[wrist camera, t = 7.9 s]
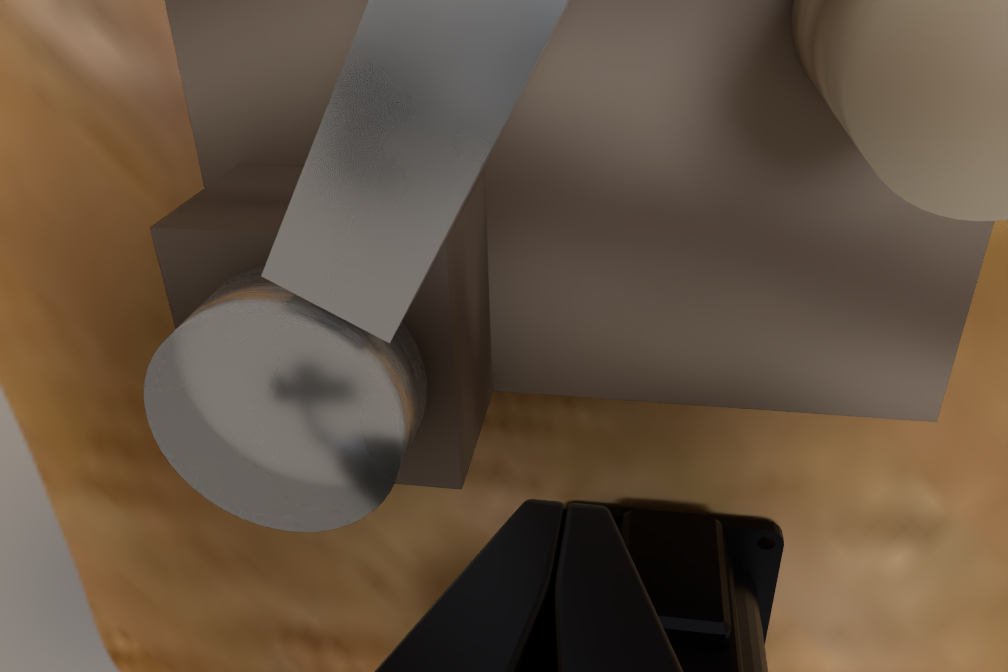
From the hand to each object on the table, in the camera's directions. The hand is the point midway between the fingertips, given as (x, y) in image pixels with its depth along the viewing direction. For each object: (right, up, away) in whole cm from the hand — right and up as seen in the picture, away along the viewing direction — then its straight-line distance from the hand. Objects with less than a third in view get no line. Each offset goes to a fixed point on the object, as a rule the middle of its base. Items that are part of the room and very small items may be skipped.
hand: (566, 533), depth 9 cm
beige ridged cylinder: (+7, +8, +7) cm, 13 cm away
